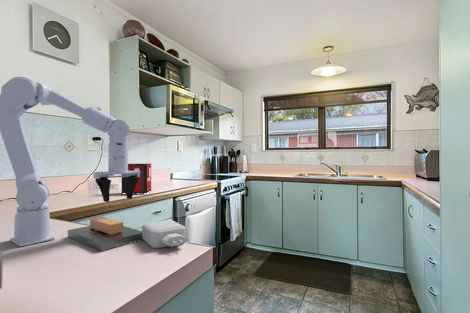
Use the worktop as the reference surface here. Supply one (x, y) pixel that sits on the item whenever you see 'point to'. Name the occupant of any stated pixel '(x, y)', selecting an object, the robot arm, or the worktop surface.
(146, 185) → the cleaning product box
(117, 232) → the clip
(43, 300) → the worktop surface
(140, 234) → the gray rectangular slab
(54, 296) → the worktop surface
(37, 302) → the worktop surface
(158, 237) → the charger
